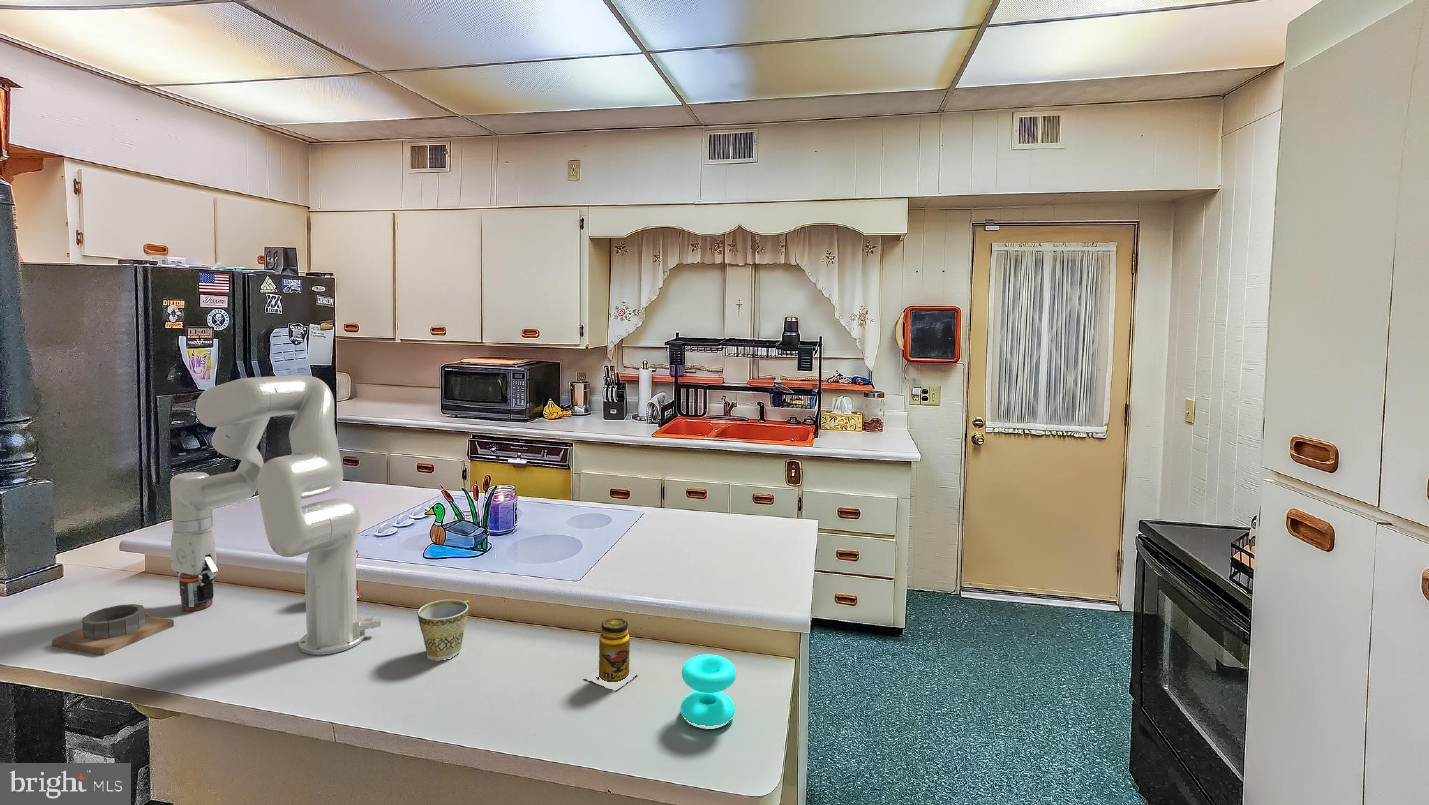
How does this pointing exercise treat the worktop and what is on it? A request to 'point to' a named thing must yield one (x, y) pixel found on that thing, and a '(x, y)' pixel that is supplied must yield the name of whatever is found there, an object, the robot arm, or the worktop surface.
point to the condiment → (614, 650)
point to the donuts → (708, 690)
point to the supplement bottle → (191, 593)
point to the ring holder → (112, 629)
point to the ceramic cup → (443, 627)
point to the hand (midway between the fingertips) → (196, 596)
